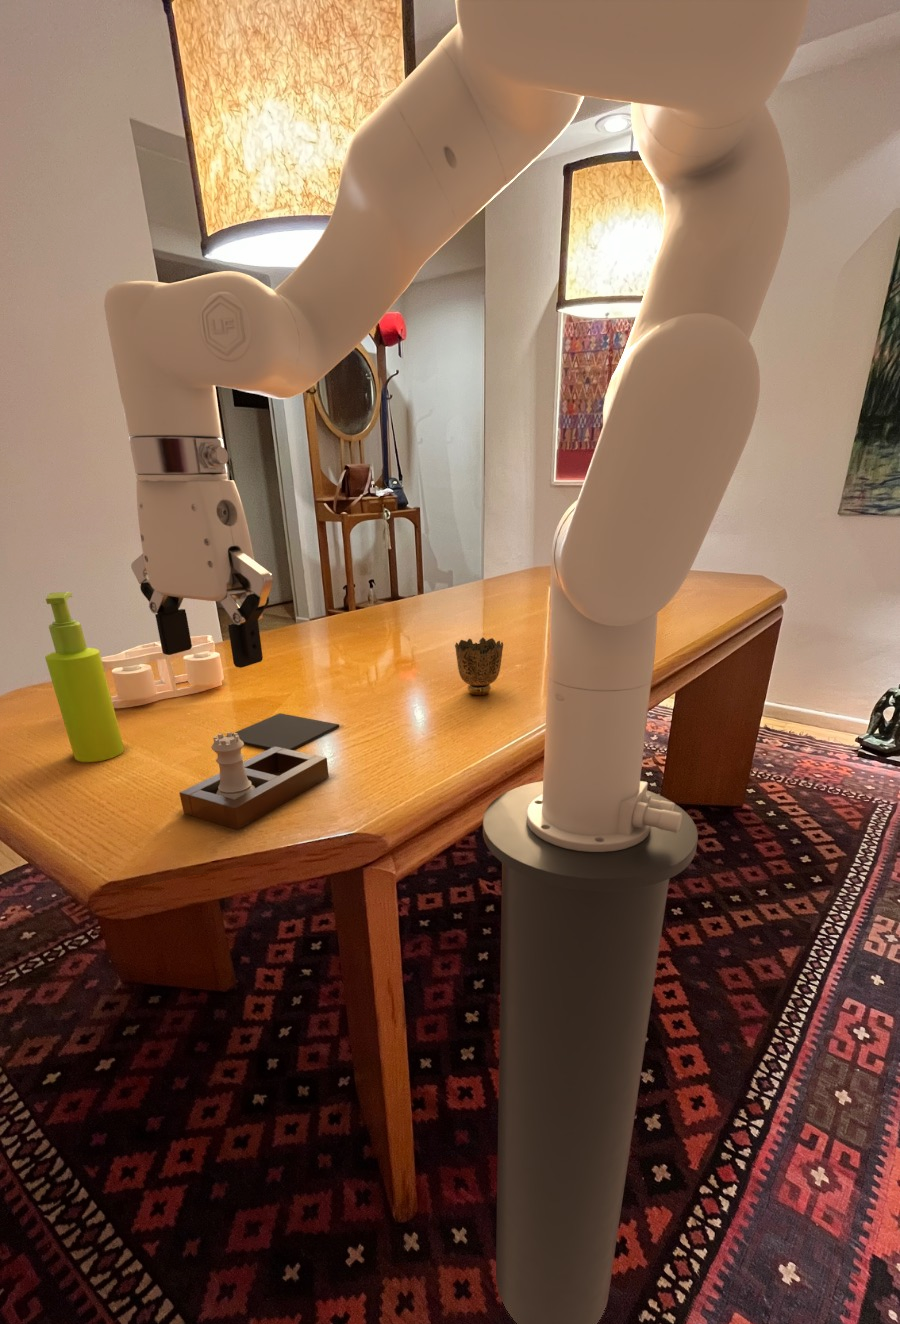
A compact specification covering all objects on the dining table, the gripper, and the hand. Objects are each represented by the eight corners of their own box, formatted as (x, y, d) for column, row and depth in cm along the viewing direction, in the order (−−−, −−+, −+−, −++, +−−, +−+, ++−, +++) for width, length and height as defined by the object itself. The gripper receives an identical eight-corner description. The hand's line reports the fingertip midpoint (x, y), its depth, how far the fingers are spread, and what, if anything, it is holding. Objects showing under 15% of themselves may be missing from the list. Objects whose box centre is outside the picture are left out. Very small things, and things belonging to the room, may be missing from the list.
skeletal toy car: (116, 715, 101) (104, 667, 98) (94, 698, 109) (83, 653, 105) (240, 687, 113) (233, 643, 109) (213, 674, 120) (206, 633, 117)
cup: (458, 701, 104) (457, 649, 100) (453, 687, 110) (452, 638, 107) (505, 699, 104) (506, 647, 101) (499, 685, 111) (499, 636, 107)
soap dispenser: (126, 740, 92) (88, 587, 83) (122, 758, 86) (80, 596, 77) (79, 745, 90) (35, 591, 81) (71, 765, 84) (22, 600, 75)
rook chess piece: (250, 793, 75) (239, 726, 72) (266, 807, 72) (255, 737, 69) (211, 804, 73) (197, 735, 70) (225, 819, 70) (211, 748, 66)
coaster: (339, 727, 94) (339, 724, 94) (286, 753, 86) (285, 750, 86) (280, 715, 99) (279, 713, 99) (224, 740, 91) (223, 737, 91)
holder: (329, 777, 79) (326, 757, 78) (238, 830, 68) (234, 808, 67) (277, 765, 83) (274, 746, 82) (183, 813, 71) (178, 792, 70)
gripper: (286, 462, 57) (306, 660, 65) (149, 463, 65) (181, 640, 73) (219, 461, 52) (249, 679, 59) (78, 463, 59) (121, 655, 67)
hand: (212, 657), depth 66 cm, fingers open, 9 cm apart
